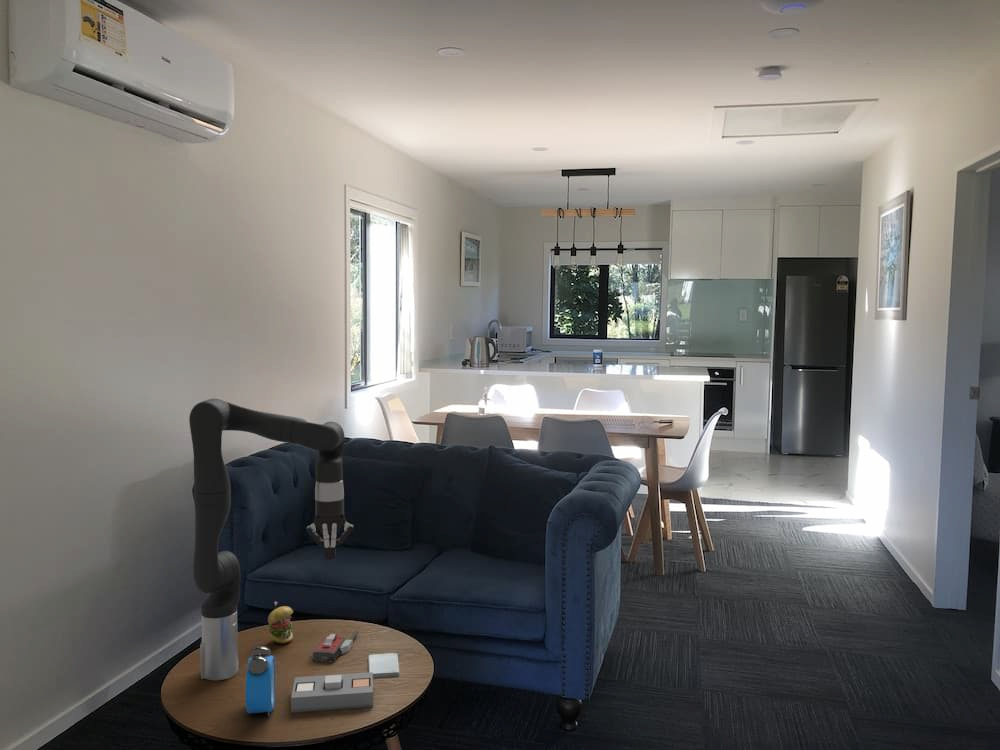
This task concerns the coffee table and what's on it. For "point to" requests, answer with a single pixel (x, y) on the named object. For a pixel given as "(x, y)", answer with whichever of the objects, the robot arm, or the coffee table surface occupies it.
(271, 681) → the alarm clock
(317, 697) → the keypad
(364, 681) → the key far terracotta
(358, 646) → the coffee table surface
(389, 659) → the hard drive
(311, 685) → the key near ivory
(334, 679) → the key mid grey
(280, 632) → the hamburger
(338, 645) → the walkie-talkie
